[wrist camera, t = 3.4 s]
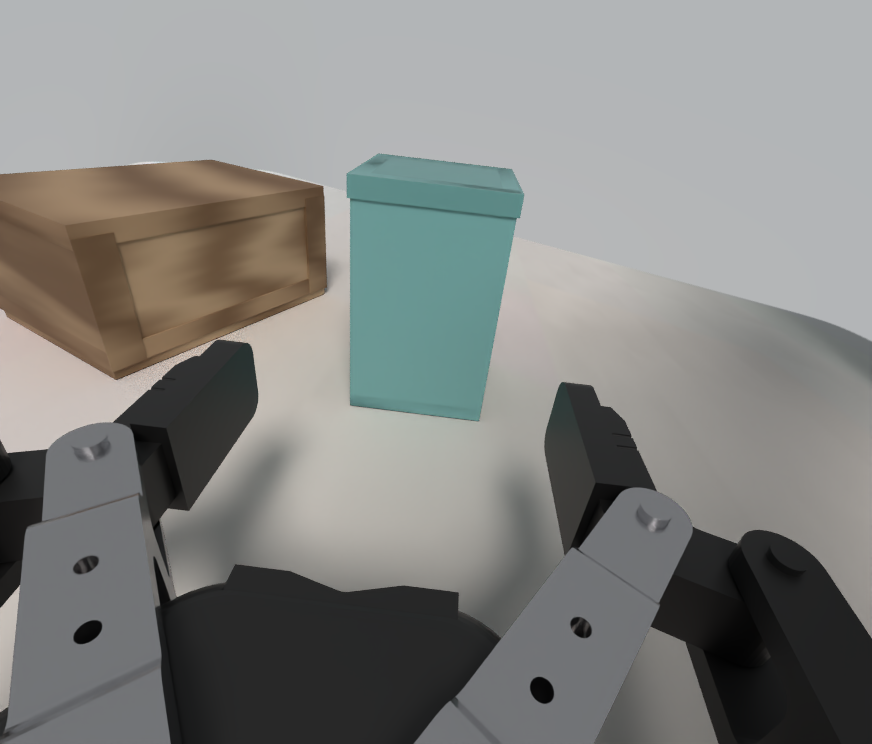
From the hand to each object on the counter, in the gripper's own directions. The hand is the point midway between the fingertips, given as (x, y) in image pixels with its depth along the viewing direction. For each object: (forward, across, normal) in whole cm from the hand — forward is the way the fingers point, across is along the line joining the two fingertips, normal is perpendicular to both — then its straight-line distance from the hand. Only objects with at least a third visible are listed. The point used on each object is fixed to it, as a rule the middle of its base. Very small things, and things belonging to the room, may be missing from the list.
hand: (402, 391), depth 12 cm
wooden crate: (+15, +15, +6) cm, 22 cm away
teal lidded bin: (+10, 0, +6) cm, 12 cm away
